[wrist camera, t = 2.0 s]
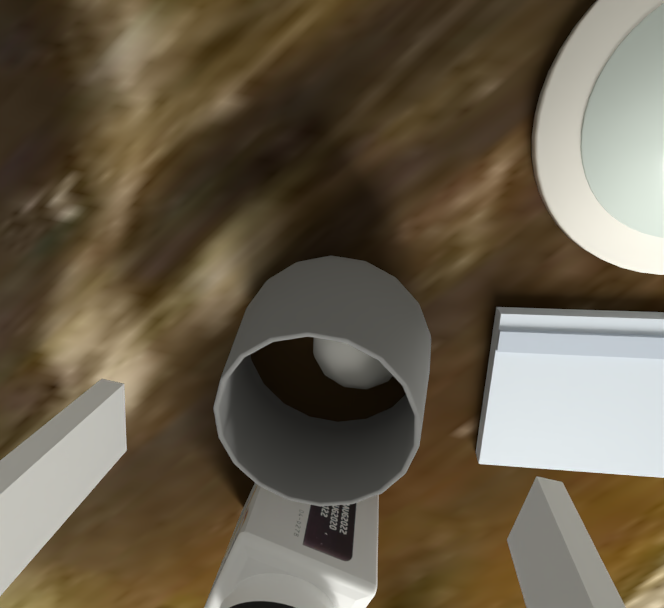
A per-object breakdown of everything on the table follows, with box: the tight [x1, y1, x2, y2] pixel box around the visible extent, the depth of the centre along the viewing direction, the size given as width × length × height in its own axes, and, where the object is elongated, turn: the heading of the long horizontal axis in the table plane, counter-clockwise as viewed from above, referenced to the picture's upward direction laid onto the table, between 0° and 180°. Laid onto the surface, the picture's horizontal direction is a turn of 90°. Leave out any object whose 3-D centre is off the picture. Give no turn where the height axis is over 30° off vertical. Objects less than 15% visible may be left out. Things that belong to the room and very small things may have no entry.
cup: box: [213, 256, 431, 506], centre depth 19 cm, size 10×9×10 cm
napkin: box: [476, 307, 664, 478], centre depth 23 cm, size 16×10×1 cm, turn 91°
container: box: [204, 483, 379, 608], centre depth 23 cm, size 8×8×13 cm
